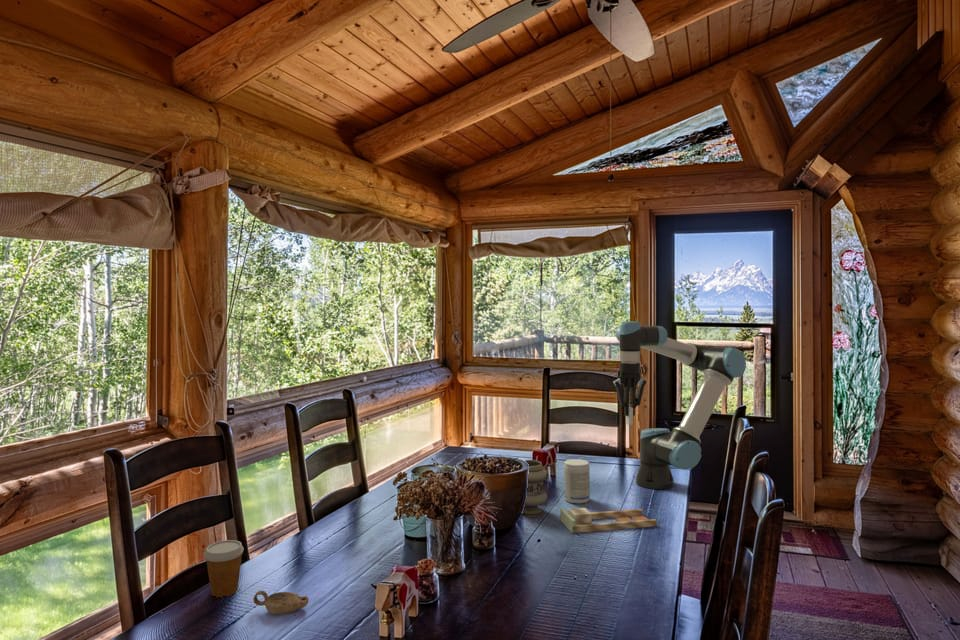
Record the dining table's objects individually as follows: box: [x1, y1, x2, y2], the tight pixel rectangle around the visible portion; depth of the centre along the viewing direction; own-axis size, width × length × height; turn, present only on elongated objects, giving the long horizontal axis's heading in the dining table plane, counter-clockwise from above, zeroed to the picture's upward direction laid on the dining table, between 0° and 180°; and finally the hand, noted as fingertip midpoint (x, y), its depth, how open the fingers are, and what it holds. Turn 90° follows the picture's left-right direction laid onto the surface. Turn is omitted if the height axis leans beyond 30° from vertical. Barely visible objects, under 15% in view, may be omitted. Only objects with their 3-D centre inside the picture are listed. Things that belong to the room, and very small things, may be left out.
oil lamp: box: [252, 590, 309, 616], centre depth 148 cm, size 13×8×5 cm, turn 90°
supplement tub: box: [563, 458, 591, 505], centre depth 230 cm, size 10×10×15 cm
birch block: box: [567, 507, 593, 525], centre depth 204 cm, size 6×6×5 cm
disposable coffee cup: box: [203, 539, 244, 598], centre depth 157 cm, size 10×10×12 cm
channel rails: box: [571, 508, 658, 534], centre depth 206 cm, size 30×11×2 cm, turn 101°
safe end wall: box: [559, 508, 575, 534], centre depth 203 cm, size 1×11×4 cm, turn 11°
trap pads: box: [613, 514, 649, 522], centre depth 208 cm, size 11×8×1 cm
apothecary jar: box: [521, 459, 548, 518], centre depth 217 cm, size 12×12×18 cm
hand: (629, 424), depth 228 cm, fingers closed
